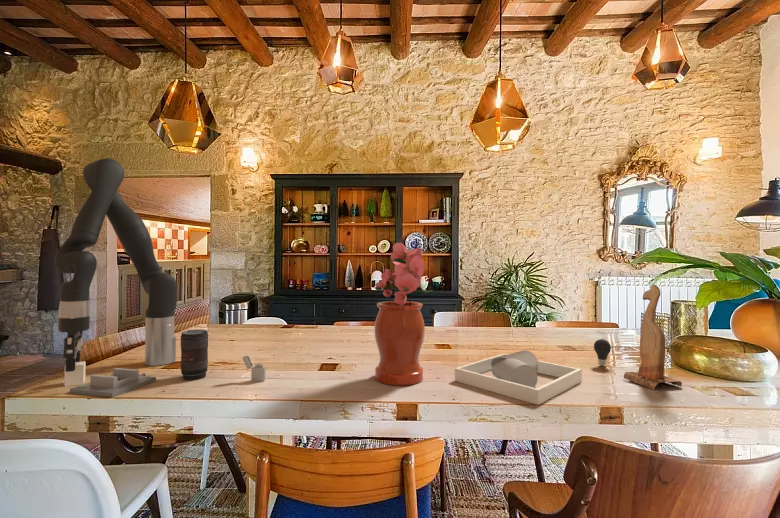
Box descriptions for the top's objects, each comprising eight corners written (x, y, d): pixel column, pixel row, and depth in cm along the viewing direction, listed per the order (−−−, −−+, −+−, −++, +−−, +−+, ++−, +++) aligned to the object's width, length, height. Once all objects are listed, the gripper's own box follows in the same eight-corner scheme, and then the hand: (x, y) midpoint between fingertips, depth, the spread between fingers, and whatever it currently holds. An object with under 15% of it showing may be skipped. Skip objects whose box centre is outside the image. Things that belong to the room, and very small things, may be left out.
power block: (125, 374, 129) (125, 362, 129) (163, 378, 125) (163, 365, 125) (69, 392, 111) (69, 378, 111) (112, 397, 108) (112, 382, 108)
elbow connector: (477, 370, 133) (504, 389, 113) (483, 340, 133) (512, 354, 114) (523, 379, 136) (557, 399, 117) (529, 349, 137) (565, 365, 117)
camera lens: (176, 381, 122) (176, 334, 122) (185, 374, 130) (186, 329, 130) (203, 380, 123) (203, 333, 123) (211, 373, 131) (211, 329, 131)
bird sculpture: (647, 376, 131) (648, 283, 131) (683, 387, 120) (684, 285, 120) (622, 379, 127) (623, 283, 127) (657, 391, 116) (657, 285, 116)
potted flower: (425, 366, 142) (426, 243, 142) (437, 389, 116) (438, 240, 116) (373, 366, 141) (374, 242, 141) (374, 390, 115) (375, 239, 115)
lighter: (265, 380, 124) (266, 355, 124) (263, 381, 122) (264, 356, 122) (244, 379, 125) (244, 354, 125) (241, 381, 123) (242, 355, 123)
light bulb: (590, 364, 146) (590, 337, 146) (604, 364, 147) (604, 337, 147) (599, 368, 141) (599, 340, 141) (614, 368, 141) (614, 340, 141)
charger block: (67, 382, 120) (67, 362, 120) (85, 380, 123) (85, 361, 123) (64, 386, 116) (64, 366, 116) (83, 384, 119) (83, 364, 119)
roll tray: (503, 364, 146) (503, 353, 146) (581, 381, 125) (581, 369, 125) (454, 380, 125) (454, 368, 125) (538, 405, 105) (538, 390, 105)
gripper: (63, 313, 124) (62, 363, 124) (53, 319, 112) (51, 375, 112) (92, 312, 128) (91, 361, 128) (86, 317, 116) (84, 372, 115)
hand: (72, 367), depth 120 cm, fingers open, 8 cm apart
